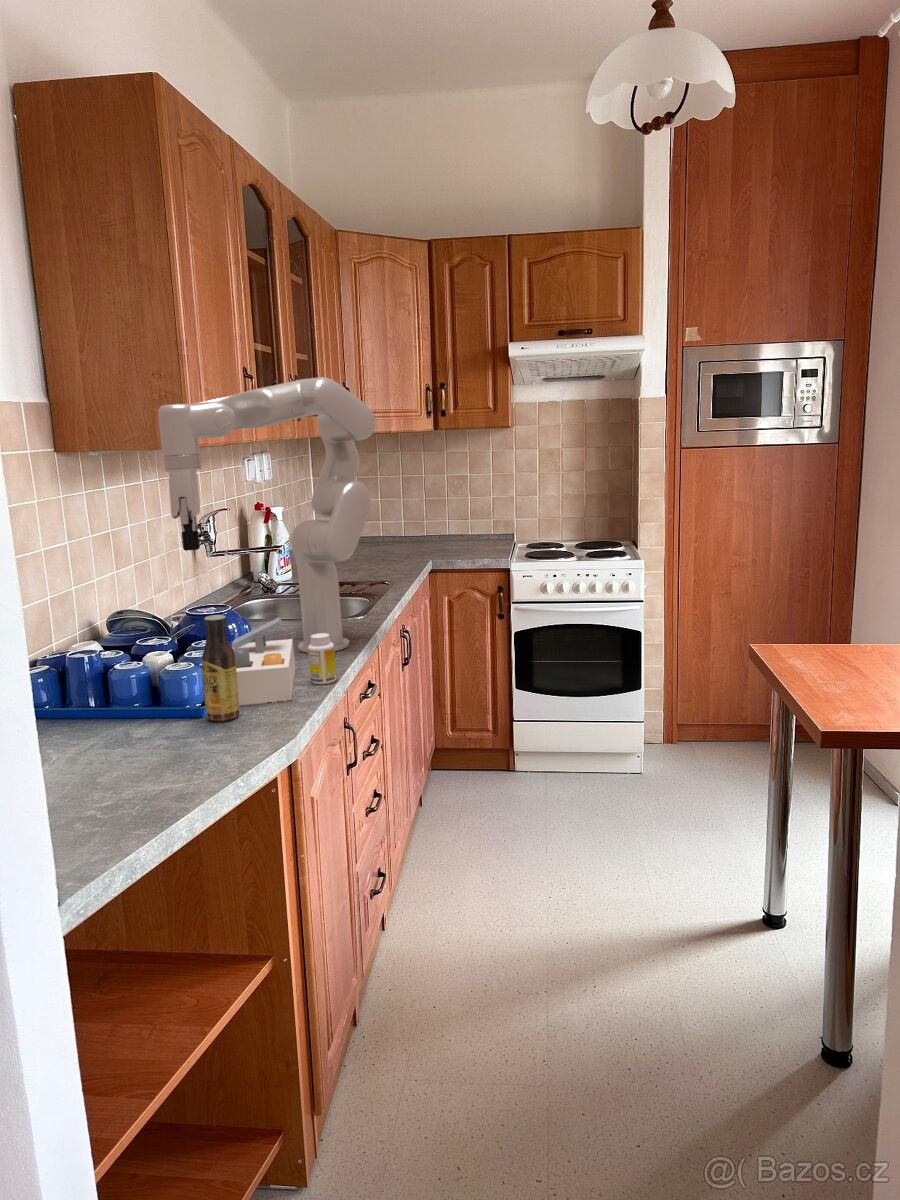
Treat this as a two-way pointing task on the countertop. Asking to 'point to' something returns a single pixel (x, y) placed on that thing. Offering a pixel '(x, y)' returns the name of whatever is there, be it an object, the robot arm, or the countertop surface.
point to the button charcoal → (242, 657)
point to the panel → (266, 673)
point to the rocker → (257, 633)
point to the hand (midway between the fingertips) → (191, 549)
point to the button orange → (272, 659)
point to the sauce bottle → (219, 672)
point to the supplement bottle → (322, 659)
